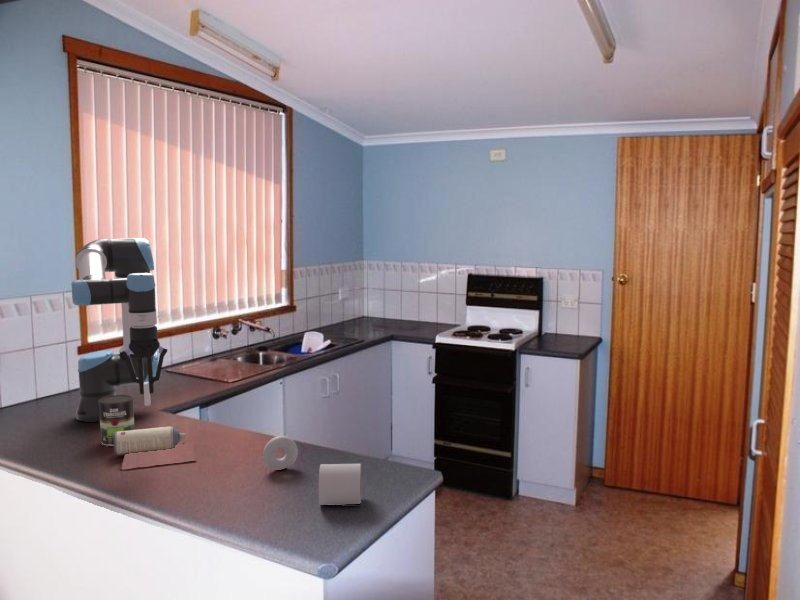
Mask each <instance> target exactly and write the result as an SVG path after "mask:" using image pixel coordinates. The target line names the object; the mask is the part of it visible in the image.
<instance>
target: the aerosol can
mask: <svg viewBox="0 0 800 600" xmlns="http://www.w3.org/2000/svg"><path fill="white" fill-rule="evenodd" d="M185 435H186V433H183V432H180V431H179V430H178V429H177V428H175V426H161V427H151V428H140V429H139V428H138V429H134V430H129V431H118V432H114V447H113V453H114V455H115V456H117V455H124V454H129V453H138V452H148V451H157V450H166V449H172V448H175V446H176V445H178V444H179V443H181V441H183V440H186V436H185Z"/></svg>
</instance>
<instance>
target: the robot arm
mask: <svg viewBox="0 0 800 600" xmlns="http://www.w3.org/2000/svg"><path fill="white" fill-rule="evenodd" d="M75 266H76V268H77V270H78V278H79V279H77V280H73V281H72V282H71V297H72V300H71V301H72V303H73V305H75V306H85V307H87V306H96V305H97V306H99V305H113V304H115V305H116V304H121V320H122V322H121V323H122V337H123V339H122V340H123V343H122V344H123V345H122V346H121V347H120V348H119V349H118V350H119V353H118V354H117V353H116V354H114V352H113V351H112V350H99V351H94V352H91V353H87V354H85V355H83V356H81V357H80V358H79V359H78V361H77V363H78V364H77V367H78V368H77V372H78V382H79V383H78V385H79V396H80V397H79V401H78V405H77V408H76V412H75V419H76V421H78V420H79V421H78V422H82V421H84V422H83V423H94V422H95V423H96V422H97V421H98V422H100V414H99V403H98V401H99V400H100V399H102V398H104V397H108V396H114V395H117V394H116V387H122V386H130V385H131V386H132V385H139V394H140V395H143V397H144V398H143V400H144V406H145V407H147V406H148V407H149V406H151V394H154V392H155V391H154V390H155V388H154V387H155V385H154V384H155V382H157V381H158V382H159V380H160V378H161V373H162V368H163V367H162V366H163V363H164V358H165V355H166V354H167V353H168V348H167V347H166V346H165V347H164V346H162V345H161V343H160V341H159V339H158V337H159V336H158V327H157V324H158V322H157V319H158V318H157V308H156V282H155V275H154V274H153V273H152V271H154V270H155V263H154V258H153V252H152V248H151V244H150V242H149V240H148V239H146V238H139V237H125V238H124V237H123V238H119V237H118V238H100V239H95V240H93V241H91V242H88V243H87V244H84V246H82V247H81V248H80V249H79V251H78V252H77V253H76V256H75ZM106 272H107V273H111V272H112V273H114V275H115V278H106Z"/></svg>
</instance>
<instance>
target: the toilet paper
mask: <svg viewBox="0 0 800 600" xmlns="http://www.w3.org/2000/svg"><path fill="white" fill-rule="evenodd" d="M318 472H319V473H318V503H319V506H320V505H321V504H322V505H324V504H360V503H361V504H362V463H322V464H319V470H318Z"/></svg>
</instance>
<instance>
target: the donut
mask: <svg viewBox="0 0 800 600" xmlns="http://www.w3.org/2000/svg"><path fill="white" fill-rule="evenodd" d="M282 448H283V449H284V450H285V454H284V456H283V457H280V458H278V457H276V452H277V451H278V450H279V449H282ZM298 452H299V449H298V445H297V444H296V442H295V440H294V439H292V438H291V437H290V436H286V435H279V436H278V435H277V436H275V437H273V438H271V439H270V440H269V441H268V442H267V443H266V444H265V445H264V448H263V451H262V457H263V461H264V464H265V465H266V467H268V468H280V467H287V466H290V467H292V466H293V464H294V463H295V462H296V460H297V458H298ZM291 465H292V466H291Z"/></svg>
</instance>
